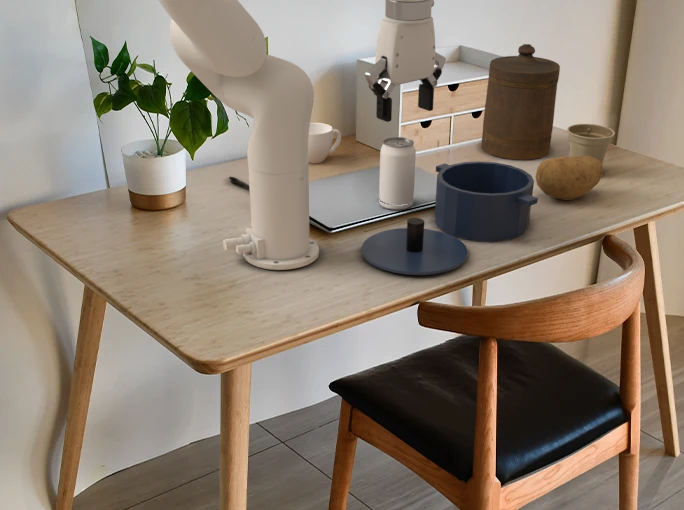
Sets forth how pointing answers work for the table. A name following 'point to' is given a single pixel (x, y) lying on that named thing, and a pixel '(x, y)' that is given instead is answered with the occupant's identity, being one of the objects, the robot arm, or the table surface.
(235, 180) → the pen
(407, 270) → the lid
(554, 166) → the potato
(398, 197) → the can
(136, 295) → the table surface
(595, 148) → the flower pot
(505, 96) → the wooden container
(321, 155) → the cup
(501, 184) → the pot
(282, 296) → the table surface
